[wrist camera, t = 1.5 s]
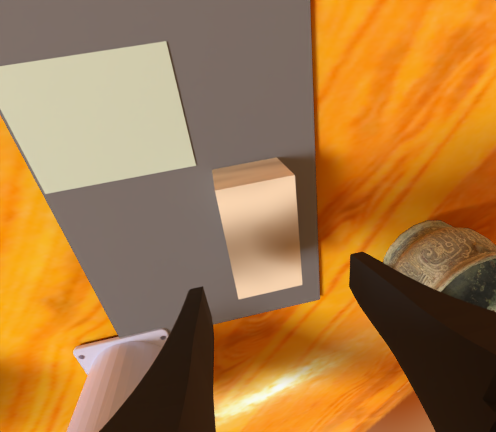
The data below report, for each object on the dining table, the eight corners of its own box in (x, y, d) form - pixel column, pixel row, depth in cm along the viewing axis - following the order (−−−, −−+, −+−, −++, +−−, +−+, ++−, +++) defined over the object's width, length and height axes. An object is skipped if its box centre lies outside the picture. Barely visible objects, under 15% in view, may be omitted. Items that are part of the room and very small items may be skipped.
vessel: (490, 202, 24) (577, 238, 19) (465, 280, 28) (530, 329, 23) (362, 225, 23) (415, 271, 17) (355, 303, 27) (395, 360, 21)
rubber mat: (318, 296, 26) (320, 300, 25) (124, 341, 24) (123, 346, 24) (304, -87, 14) (307, -92, 13) (-77, -41, 12) (-87, -46, 12)
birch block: (286, 252, 22) (302, 284, 19) (232, 264, 22) (238, 299, 18) (276, 157, 19) (294, 175, 15) (211, 169, 18) (215, 190, 15)
